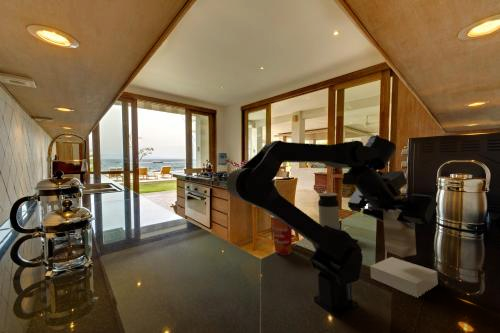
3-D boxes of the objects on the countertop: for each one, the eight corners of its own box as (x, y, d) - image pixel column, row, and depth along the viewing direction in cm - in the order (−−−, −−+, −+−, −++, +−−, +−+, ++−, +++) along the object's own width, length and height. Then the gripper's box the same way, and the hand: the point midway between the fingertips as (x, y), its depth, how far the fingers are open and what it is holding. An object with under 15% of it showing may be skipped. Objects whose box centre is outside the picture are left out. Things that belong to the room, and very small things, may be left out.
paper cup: (268, 252, 71) (266, 212, 72) (280, 246, 77) (278, 209, 77) (287, 258, 66) (285, 215, 66) (299, 251, 72) (297, 211, 72)
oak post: (402, 257, 48) (399, 202, 49) (385, 250, 53) (382, 200, 53) (416, 254, 50) (412, 201, 50) (398, 248, 54) (395, 199, 55)
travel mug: (336, 241, 80) (333, 195, 81) (316, 237, 85) (314, 194, 86) (343, 236, 86) (340, 193, 86) (324, 232, 91) (322, 192, 92)
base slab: (417, 298, 44) (416, 283, 44) (370, 277, 52) (370, 266, 53) (437, 284, 48) (436, 271, 49) (392, 267, 57) (391, 256, 57)
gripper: (429, 157, 42) (462, 206, 46) (353, 162, 59) (381, 198, 63) (407, 197, 39) (444, 247, 42) (333, 191, 56) (364, 226, 60)
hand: (402, 225), depth 52 cm, fingers closed on oak post, 5 cm apart
